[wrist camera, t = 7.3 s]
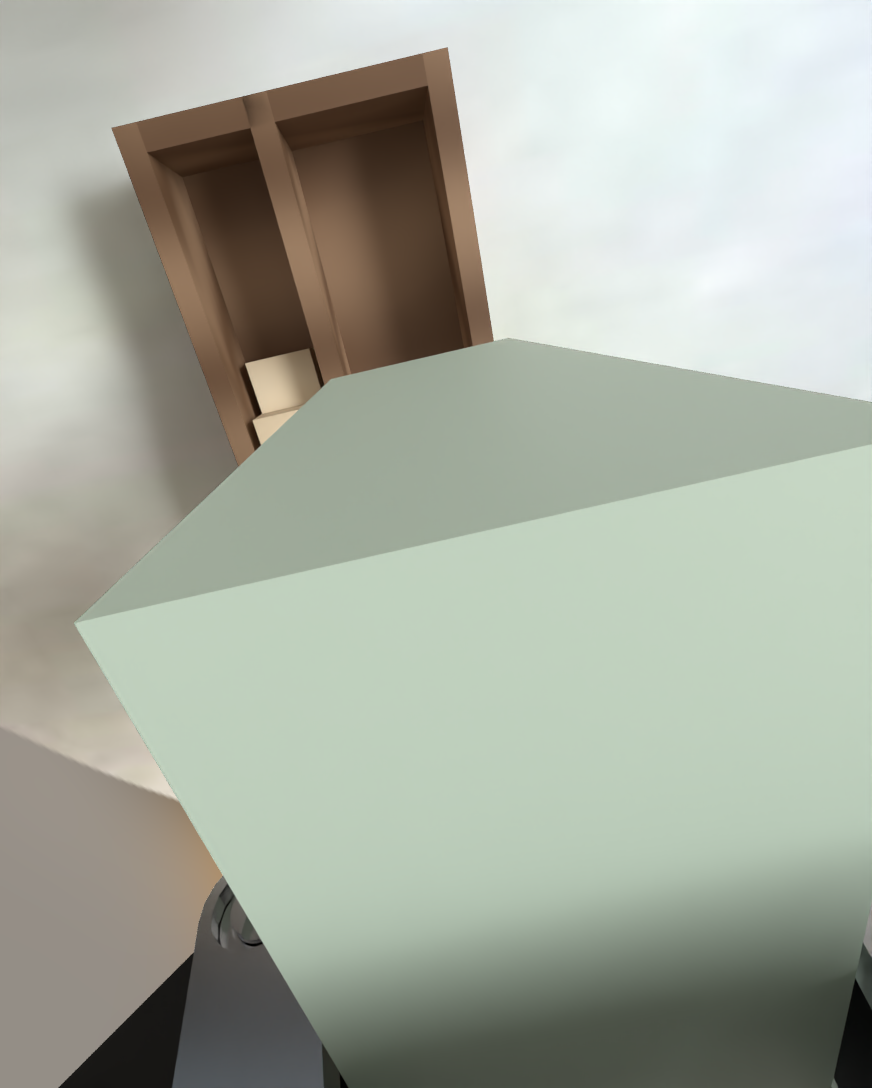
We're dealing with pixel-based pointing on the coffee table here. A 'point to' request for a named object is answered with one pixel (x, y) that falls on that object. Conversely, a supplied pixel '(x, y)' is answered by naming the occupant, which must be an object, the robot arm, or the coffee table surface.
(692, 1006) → the pale green block
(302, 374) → the offcut lower
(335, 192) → the tray
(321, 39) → the coffee table surface
